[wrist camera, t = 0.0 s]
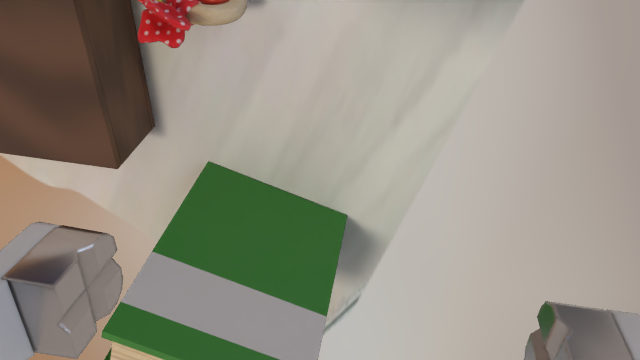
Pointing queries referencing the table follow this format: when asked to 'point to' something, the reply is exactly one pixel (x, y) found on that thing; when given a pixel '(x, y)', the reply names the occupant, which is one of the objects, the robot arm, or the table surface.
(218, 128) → the table surface
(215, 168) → the hardback book
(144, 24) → the bird rattle
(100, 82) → the cabinet
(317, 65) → the table surface
